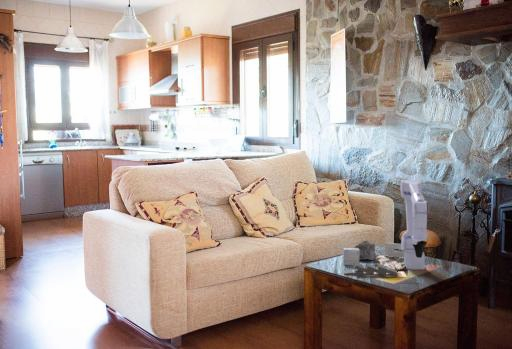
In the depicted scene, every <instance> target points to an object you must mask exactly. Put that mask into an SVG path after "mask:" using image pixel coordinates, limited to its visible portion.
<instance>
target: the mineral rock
mask: <svg viewBox="0 0 512 349" xmlns="http://www.w3.org/2000/svg"><path fill="white" fill-rule="evenodd" d="M353 248H358V249H359V251H360V252H359V261H360V260H361V261H363V260H371V261H375V260H376V258H377V257H376V256H377V255H376V245H375V242H372V241H370V242H369V241H368V240H363V241H362V242H360V243H358V244H357V245H355V246H354V247H353Z"/></svg>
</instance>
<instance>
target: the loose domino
mask: <svg viewBox="0 0 512 349" xmlns="http://www.w3.org/2000/svg"><path fill="white" fill-rule="evenodd" d="M376 267H377V269H378V270H380V271H383V272H386V273H389V274H391V275H394V276H397V274H398V273H397V271H398V270H396V269H393V268H391V267H388V266H386V265H384V264H383V265H382V264H380V263H377V265H376Z"/></svg>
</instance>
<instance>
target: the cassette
mask: <svg viewBox="0 0 512 349" xmlns="http://www.w3.org/2000/svg"><path fill="white" fill-rule="evenodd" d="M396 250H398V251H396ZM385 255H388V256H396V257H401V258H402V257H404V250H402V248H401V243H394V242H385V243H384V256H385Z"/></svg>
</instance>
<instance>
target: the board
mask: <svg viewBox="0 0 512 349" xmlns="http://www.w3.org/2000/svg"><path fill="white" fill-rule="evenodd" d="M397 271H398V270H397ZM397 273H398V274H397V276H394V275H391V274H389V273H386V275H385V276H384V275H381V274H378V273H376V272H374V274H373V275H371V274H368V273H366V272H364V275H361V276H362V277H388V278H390V277H392V278H393V277H394V278H408V276H407V275H406V273H405V271H403V270H402V271H398V272H397Z"/></svg>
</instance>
